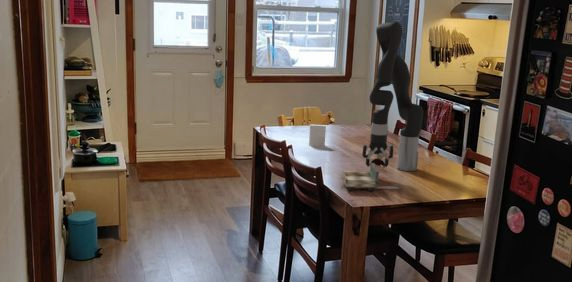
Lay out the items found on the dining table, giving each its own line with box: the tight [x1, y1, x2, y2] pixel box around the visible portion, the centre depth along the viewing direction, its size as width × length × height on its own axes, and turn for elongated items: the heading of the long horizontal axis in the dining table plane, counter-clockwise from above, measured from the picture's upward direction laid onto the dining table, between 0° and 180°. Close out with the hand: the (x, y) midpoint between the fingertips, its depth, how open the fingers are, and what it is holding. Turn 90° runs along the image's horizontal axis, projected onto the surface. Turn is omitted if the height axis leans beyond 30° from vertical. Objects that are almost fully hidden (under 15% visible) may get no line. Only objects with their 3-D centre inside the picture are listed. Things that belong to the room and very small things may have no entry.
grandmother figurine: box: [369, 153, 386, 172], centre depth 276 cm, size 8×4×13 cm, turn 107°
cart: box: [341, 163, 380, 193], centre depth 261 cm, size 14×13×9 cm
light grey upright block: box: [308, 123, 327, 149], centre depth 335 cm, size 9×9×12 cm
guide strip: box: [339, 184, 400, 190], centre depth 262 cm, size 26×3×1 cm, turn 93°
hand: (376, 166), depth 276 cm, fingers open, 8 cm apart
